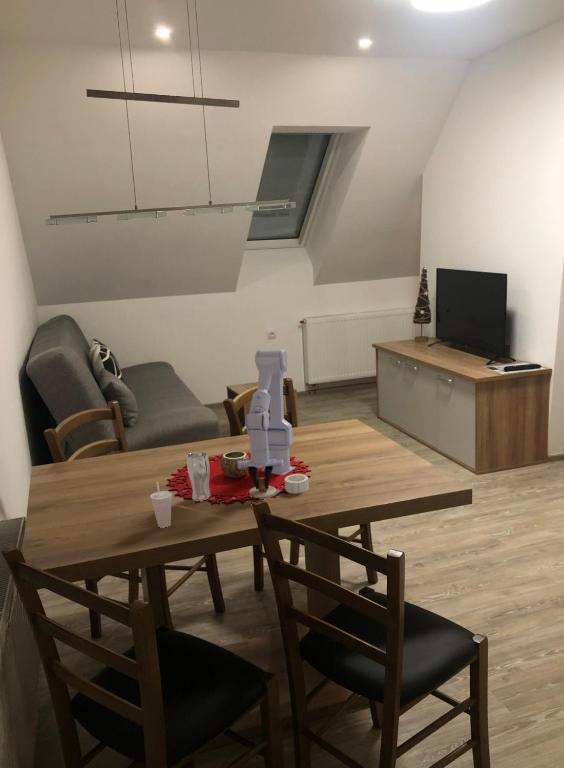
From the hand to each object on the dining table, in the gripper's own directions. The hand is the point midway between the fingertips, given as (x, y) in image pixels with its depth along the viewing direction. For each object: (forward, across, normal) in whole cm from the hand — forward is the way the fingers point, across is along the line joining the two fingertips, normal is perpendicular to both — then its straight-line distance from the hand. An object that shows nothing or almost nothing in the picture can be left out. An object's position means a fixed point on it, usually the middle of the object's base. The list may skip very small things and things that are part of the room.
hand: (262, 488), depth 206 cm
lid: (+2, 0, 0) cm, 2 cm away
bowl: (+2, +11, +3) cm, 11 cm away
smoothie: (+2, -26, -22) cm, 35 cm away
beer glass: (+2, -20, -3) cm, 20 cm away
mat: (+2, 0, 0) cm, 2 cm away
